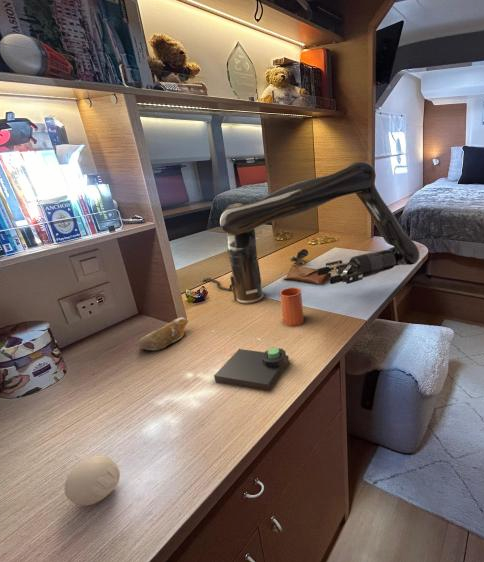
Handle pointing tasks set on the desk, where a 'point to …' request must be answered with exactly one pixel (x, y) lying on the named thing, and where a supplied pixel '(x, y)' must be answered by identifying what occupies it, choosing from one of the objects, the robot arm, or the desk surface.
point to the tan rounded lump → (91, 480)
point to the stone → (163, 335)
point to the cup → (292, 306)
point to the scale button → (273, 353)
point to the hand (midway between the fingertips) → (323, 276)
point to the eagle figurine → (299, 257)
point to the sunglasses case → (306, 275)
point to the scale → (252, 369)
